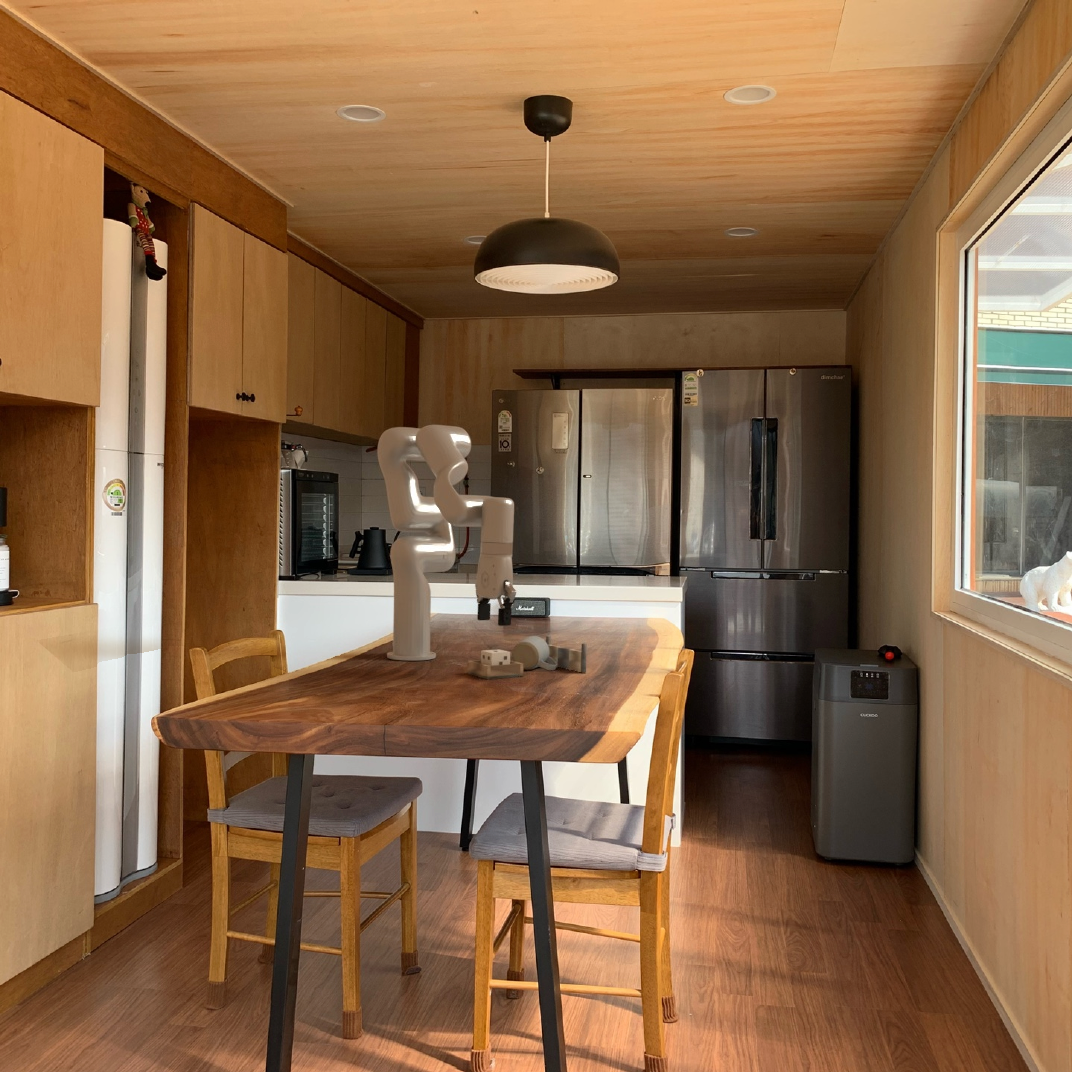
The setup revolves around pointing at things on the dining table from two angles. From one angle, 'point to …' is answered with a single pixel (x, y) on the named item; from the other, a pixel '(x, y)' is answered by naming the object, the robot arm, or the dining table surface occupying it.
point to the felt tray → (494, 670)
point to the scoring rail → (568, 656)
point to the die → (495, 657)
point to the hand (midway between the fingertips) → (493, 622)
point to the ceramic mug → (533, 654)
